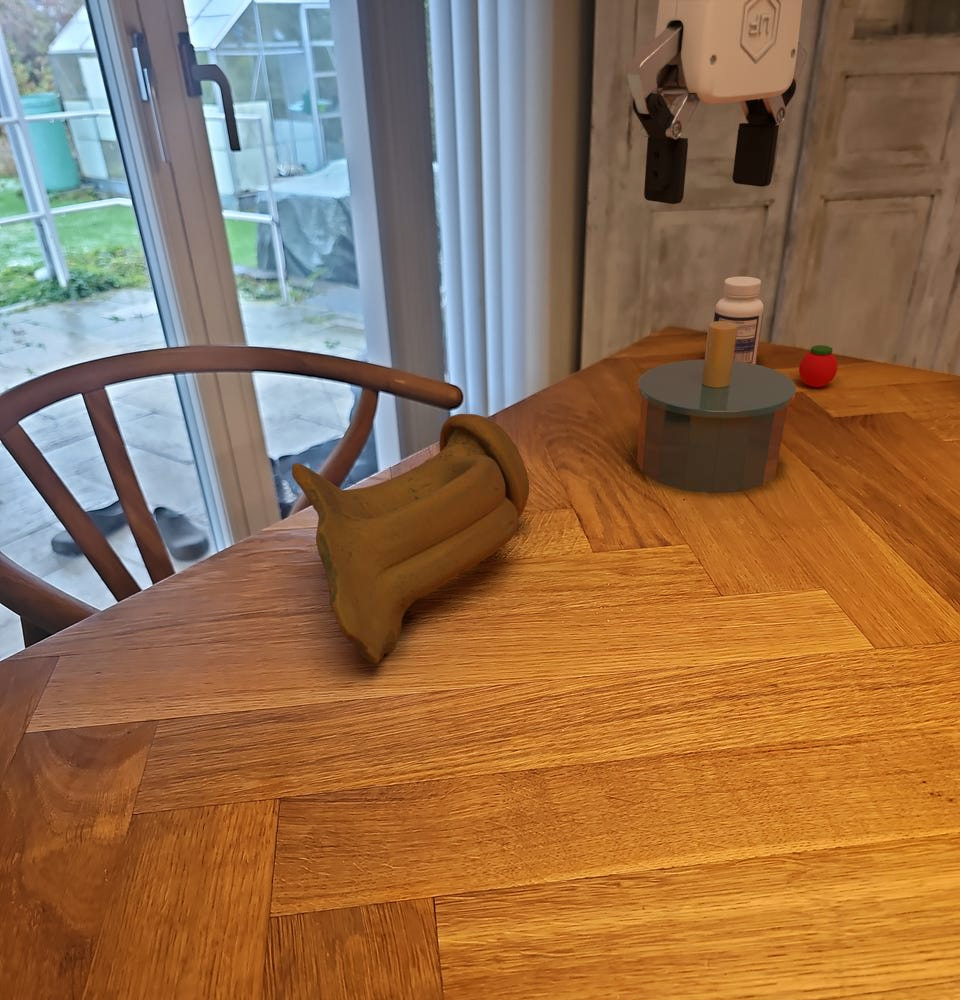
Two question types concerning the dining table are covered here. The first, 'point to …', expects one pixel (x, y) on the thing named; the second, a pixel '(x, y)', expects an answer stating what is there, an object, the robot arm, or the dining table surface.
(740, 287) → the pill bottle
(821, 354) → the toy tomato
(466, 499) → the brown fluted pedestal
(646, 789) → the dining table surface
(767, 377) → the lid
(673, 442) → the pot
